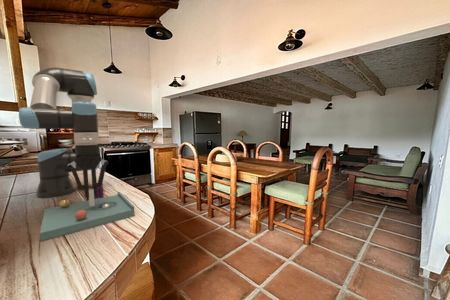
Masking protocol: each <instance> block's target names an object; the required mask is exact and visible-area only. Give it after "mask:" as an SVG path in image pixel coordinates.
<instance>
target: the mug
mask: <svg viewBox="0 0 450 300" xmlns="http://www.w3.org/2000/svg"><path fill="white" fill-rule="evenodd" d="M89 188H93V186H92V185H90V186H89ZM104 197H105V195H104V186H103V185H102V186H99V187H97V196H94V199H98V198H104ZM88 200H89V198H86V197H85V201H88Z"/></svg>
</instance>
